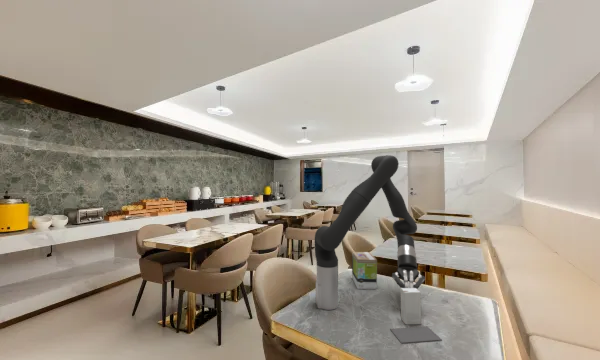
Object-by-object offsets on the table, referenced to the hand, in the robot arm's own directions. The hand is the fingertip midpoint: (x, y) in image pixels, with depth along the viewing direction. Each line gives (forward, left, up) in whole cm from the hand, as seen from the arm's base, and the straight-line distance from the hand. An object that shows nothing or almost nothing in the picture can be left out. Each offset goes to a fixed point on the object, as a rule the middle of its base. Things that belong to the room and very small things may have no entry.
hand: (409, 298), depth 99 cm
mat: (-4, -11, -7) cm, 14 cm away
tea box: (-5, +35, -8) cm, 36 cm away
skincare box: (-1, -3, -8) cm, 8 cm away
